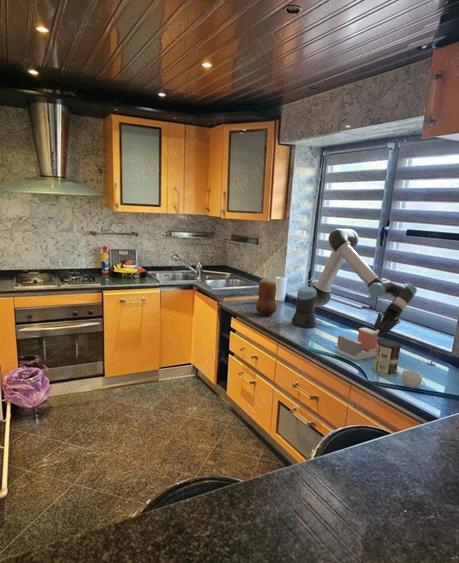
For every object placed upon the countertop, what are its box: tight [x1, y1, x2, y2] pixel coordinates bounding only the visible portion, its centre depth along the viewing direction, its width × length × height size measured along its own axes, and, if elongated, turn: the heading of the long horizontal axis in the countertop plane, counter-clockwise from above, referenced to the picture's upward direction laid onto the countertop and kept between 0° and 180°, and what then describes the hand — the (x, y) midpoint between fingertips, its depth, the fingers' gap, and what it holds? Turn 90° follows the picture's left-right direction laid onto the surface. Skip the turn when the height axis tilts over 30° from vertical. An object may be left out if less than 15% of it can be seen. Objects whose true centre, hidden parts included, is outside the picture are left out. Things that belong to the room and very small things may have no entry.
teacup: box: [401, 369, 426, 389], centre depth 160 cm, size 10×8×5 cm
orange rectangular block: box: [357, 327, 378, 350], centre depth 198 cm, size 5×8×10 cm, turn 31°
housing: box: [336, 334, 376, 361], centre depth 197 cm, size 22×13×8 cm, turn 121°
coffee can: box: [372, 338, 402, 377], centre depth 173 cm, size 10×10×14 cm
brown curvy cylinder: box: [255, 278, 277, 317], centre depth 255 cm, size 14×13×25 cm
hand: (372, 340), depth 200 cm, fingers closed
